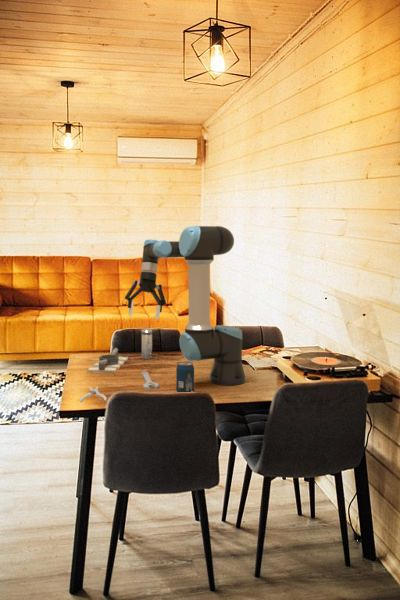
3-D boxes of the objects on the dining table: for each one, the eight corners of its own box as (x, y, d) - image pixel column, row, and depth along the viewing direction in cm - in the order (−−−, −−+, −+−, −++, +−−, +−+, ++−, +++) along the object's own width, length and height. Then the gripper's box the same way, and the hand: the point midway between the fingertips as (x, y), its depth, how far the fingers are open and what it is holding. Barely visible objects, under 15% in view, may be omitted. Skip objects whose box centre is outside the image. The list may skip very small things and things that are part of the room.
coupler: (151, 359, 278) (150, 330, 276) (140, 358, 278) (140, 330, 276) (153, 356, 283) (153, 328, 281) (142, 356, 283) (142, 328, 281)
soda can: (181, 389, 231) (182, 360, 229) (197, 392, 227) (197, 362, 226) (172, 394, 225) (173, 364, 223) (188, 396, 221) (188, 366, 220)
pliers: (79, 399, 214) (81, 387, 228) (79, 403, 214) (81, 390, 228) (106, 397, 215) (106, 386, 230) (106, 402, 215) (106, 389, 230)
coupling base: (113, 373, 252) (113, 361, 251) (87, 372, 254) (87, 360, 253) (128, 358, 278) (128, 348, 277) (104, 357, 279) (104, 347, 278)
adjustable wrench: (140, 374, 253) (140, 370, 253) (155, 374, 254) (155, 370, 254) (143, 391, 229) (143, 387, 228) (159, 391, 230) (159, 386, 229)
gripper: (169, 277, 281) (164, 320, 279) (121, 269, 270) (115, 314, 267) (176, 276, 274) (171, 320, 272) (126, 267, 263) (121, 313, 260)
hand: (143, 317), depth 270 cm, fingers open, 13 cm apart
